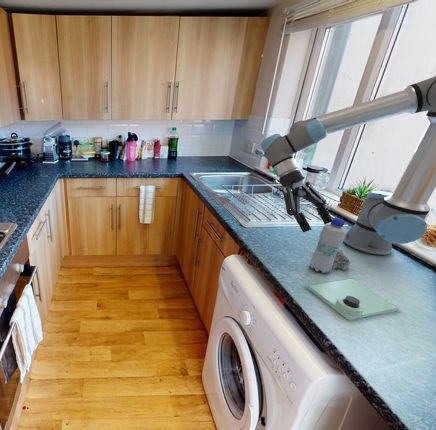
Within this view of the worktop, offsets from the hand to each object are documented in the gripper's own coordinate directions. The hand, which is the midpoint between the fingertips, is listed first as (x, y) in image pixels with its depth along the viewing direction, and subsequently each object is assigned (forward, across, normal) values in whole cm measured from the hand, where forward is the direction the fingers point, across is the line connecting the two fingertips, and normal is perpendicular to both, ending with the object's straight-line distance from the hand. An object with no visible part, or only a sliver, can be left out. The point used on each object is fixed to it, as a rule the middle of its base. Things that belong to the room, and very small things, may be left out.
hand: (318, 227), depth 99 cm
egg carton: (+14, -10, -8) cm, 18 cm away
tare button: (+23, +15, +6) cm, 28 cm away
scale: (+23, +8, +2) cm, 25 cm away
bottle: (+14, 0, -7) cm, 16 cm away
